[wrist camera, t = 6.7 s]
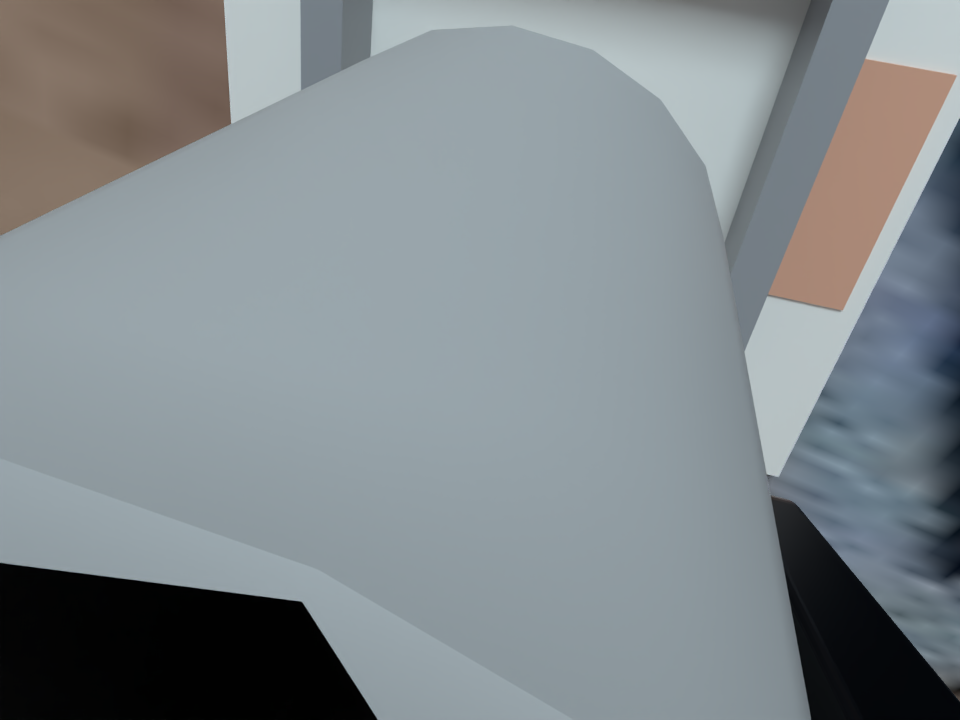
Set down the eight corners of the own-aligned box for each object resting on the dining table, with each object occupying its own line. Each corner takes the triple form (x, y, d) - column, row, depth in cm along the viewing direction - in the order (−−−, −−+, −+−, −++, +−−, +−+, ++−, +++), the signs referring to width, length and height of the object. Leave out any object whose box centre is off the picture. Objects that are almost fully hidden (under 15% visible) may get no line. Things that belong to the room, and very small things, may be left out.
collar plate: (253, 337, 25) (213, 378, 22) (215, -391, 15) (138, -444, 12) (775, 464, 23) (787, 522, 21) (1141, -275, 13) (1239, -313, 11)
